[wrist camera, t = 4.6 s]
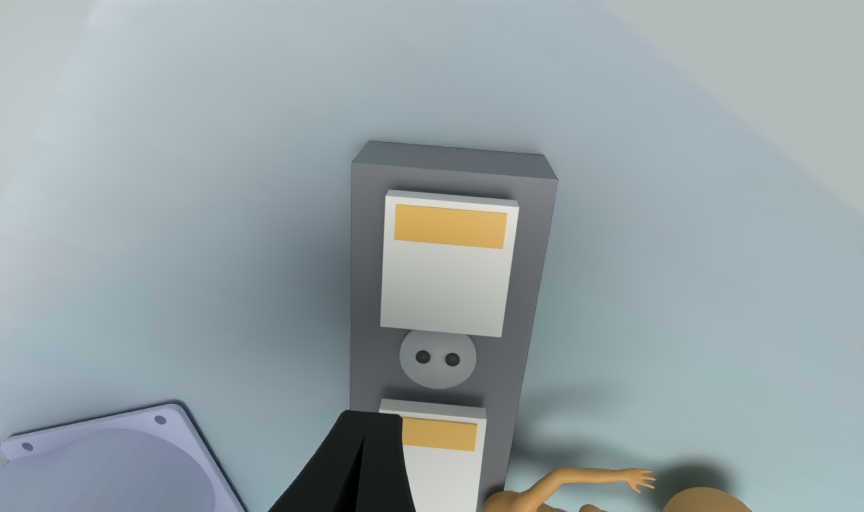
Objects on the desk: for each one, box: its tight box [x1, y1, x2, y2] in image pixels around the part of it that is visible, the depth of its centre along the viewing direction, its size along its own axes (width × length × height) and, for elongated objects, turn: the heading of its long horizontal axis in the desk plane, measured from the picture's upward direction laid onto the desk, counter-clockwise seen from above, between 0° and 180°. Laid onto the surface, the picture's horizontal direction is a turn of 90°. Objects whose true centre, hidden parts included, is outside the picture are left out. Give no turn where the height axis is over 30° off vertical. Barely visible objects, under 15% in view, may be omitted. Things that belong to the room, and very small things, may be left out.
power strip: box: [350, 141, 558, 512], centre depth 19 cm, size 15×6×3 cm, turn 176°
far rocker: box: [379, 399, 487, 512], centre depth 18 cm, size 4×4×1 cm
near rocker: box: [380, 190, 519, 337], centre depth 15 cm, size 4×4×1 cm
